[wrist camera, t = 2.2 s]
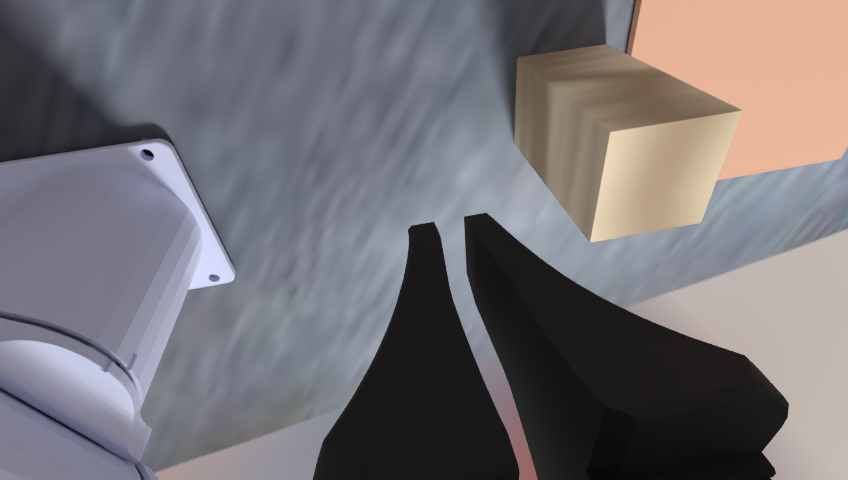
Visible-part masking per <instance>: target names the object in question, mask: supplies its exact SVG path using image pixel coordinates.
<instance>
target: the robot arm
mask: <svg viewBox="0 0 848 480" xmlns="http://www.w3.org/2000/svg"><path fill="white" fill-rule="evenodd" d="M143 149H147V150H149V151H151V152H152V153H153V154H154V157H150V156H148V155H146V154H145V153H144V152H143ZM464 223H465V244H466V265H467V275H468V279H469V282H470V286H471V289H472V293H473V296H474V300H475V303H476V306H477V308H478V311H479V313H480V315H481V318H482V320H483V322H484V325H485V327H486V330H487V332H488V334H489V337H490V339H491V341H492V344H493V346H494V348H495V351H496V353H497V355H498V358H499V360H500V362H501V364H502V367H503V369H504V372H505V374H506V377H507V379H508V382H509V385H510V388H511V391H512V394H513V398H514V401H515V404H516V407H517V410H518V413H519V417H520V420H521V423H522V427H523V430H524V433H525V436H526V440H527V443H528V447H529V450H530V453H531V456H532V460H533V464H534V467H535V470H536V474H537V478H538V480H771V479H770V477H773V476H774V475H775V474H776V472H775V469H774V467H773V466H772V465H771V463H770V462H769V461H768V460H767V458H766V457H765V456H764V455H763V453H762V451H763V449H764V448H765V447H766V446H767V444H768V443H769V442H770V441H771V440H772V438H773V437H774V436H775V435H776V433H777V432H778V431H779V430H780V428H781V427H782V426H783V424H784V422H785V420H786V419H787V416H788V407H789V403H788V402H787V401H786V399H785V398H784V396H783V395H782V394H781V393H780V392H779V391H778V390H777V389H776V388H775V387H774V385H773V384H772V383H771V382H770V381H769V380H768V379H767V378H766V377H765V376H764V374H763V373H762V372H761V371H760V370H759V369H758V368H757V367H756V366H755V365H754V364H753V363H752V362H751V361H750V360H749V359H748V358H747V357H746V356H745V355H742V354H739V353H736V352H733V351H730V350H727V349H724V348H721V347H718V346H715V345H712V344H709V343H706V342H703V341H700V340H697V339H694V338H691V337H688V336H686V335H683V334H681V333H678V332H676V331H673V330H671V329H668V328H666V327H663V326H661V325H658V324H656V323H653V322H651V321H649V320H647V319H644V318H642V317H640V316H637V315H635V314H633V313H631V312H629V311H627V310H625V309H623V308H621V307H619V306H617V305H615V304H613V303H611V302H609V301H607V300H605V299H603V298H601V297H599V296H598V295H596V294H594V293H592V292H591V291H589V290H587V289H585V288H584V287H582V286H580V285H579V284H577V283H575V282H574V281H572V280H570V279H569V278H567V277H566V276H564V275H563V274H561V273H560V272H558V271H557V270H556V269H554V268H553V267H551V266H550V265H548V264H547V263H546V262H544V261H543V260H542V259H540V258H539V257H538V256H537V255H535V254H534V253H533V252H532V251H530V250H529V249H528V248H527V247H525V246H524V245H523V244H522V243H520V242H519V241H518V240H517V239H516V238H514V237H513V236H512V235H511V234H510V233H509V232H508V231H506V230H505V229H504V228H503V227H502V226H501V225H500V224H499V223H497V222H496V221H495V220H494V219H493V218H492V217H491V216H490V215H488V214H487V213H483V214H477V215H471V216H466V217H464ZM408 233H409V250H408V258H407V264H406V269H405V274H404V279H403V283H402V286H401V290H400V293H399V297H398V300H397V304H396V307H395V310H394V312H393V315H392V318H391V321H390V323H389V326H388V328H387V331H386V333H385V336H384V338H383V340H382V342H381V344H380V347H379V349H378V351H377V353H376V355H375V357H374V359H373V361H372V363H371V365H370V367H369V369H368V371H367V372H366V374H365V376H364V378H363V380H362V381H361V383H360V385H359V387H358V388H357V390H356V392H355V394H354V395H353V397H352V399H351V400H350V402H349V403H348V405H347V407H346V408H345V410H344V411H343V413H342V414H341V415H340V417H339V419H338V420H337V421H336V423H335V425H334V426H333V428H332V429H331V430H330V432H329V433H328V435H327V436H326V438H325V439H324V441H323V444H322V447H321V451H320V454H319V457H318V461H317V464H316V469H315V473H314V477H313V480H519V467H518V463H517V460H516V457H515V454H514V451H513V448H512V445H511V442H510V439H509V436H508V433H507V431H506V429H505V427H504V424H503V422H502V420H501V418H500V416H499V414H498V412H497V410H496V408H495V405H494V403H493V401H492V398H491V396H490V394H489V392H488V389H487V388H486V385H485V383H484V380H483V378H482V375H481V373H480V371H479V368H478V366H477V363H476V361H475V358H474V356H473V353H472V351H471V348H470V346H469V343H468V340H467V338H466V335H465V332H464V330H463V327H462V324H461V322H460V319H459V316H458V313H457V310H456V308H455V305H454V302H453V299H452V295H451V291H450V287H449V282H448V276H447V271H446V265H445V260H444V254H443V248H442V243H441V238H440V235H439V232H438V230H437V228H436V225H435V223H434V222H431V223H425V224H419V225H414V226H411V227H410V228H409V229H408ZM212 274H215V275H218V276H219V277H214V276H212ZM235 274H236V272H235V269H234V267H233V265H232V263H231V261H230V259H229V257H228V255H227V253H226V251H225V249H224V247H223V245H222V243H221V241H220V239H219V237H218V235H217V233H216V231H215V229H214V227H213V225H212V223H211V221H210V219H209V217H208V215H207V213H206V211H205V209H204V207H203V205H202V203H201V201H200V199H199V197H198V195H197V193H196V191H195V189H194V187H193V185H192V183H191V181H190V179H189V177H188V175H187V173H186V171H185V169H184V167H183V165H182V163H181V161H180V159H179V157H178V155H177V153H176V151H175V149H174V147H173V146H172V144H171V143H169V142H168V141H167V140H164V139H150V140H144V141H137V142H131V143H124V144H117V145H111V146H104V147H98V148H91V149H85V150H78V151H72V152H65V153H59V154H52V155H46V156H39V157H33V158H26V159H20V160H13V161H7V162H0V480H158V478H157V476H156V475H155V474H154V472H153V471H152V470H151V469H150V468H149V467H148V466H146V465H145V464H143V463H141V462H140V461H141V458H142V455H143V452H144V450H145V447H146V444H147V441H148V439H149V436H150V433H151V430H152V429H151V428H150V427H149V426H148V425H147V424H145V423H144V421H143V420H142V418H141V416H140V408H141V406H142V404H143V401H144V399H145V396H146V394H147V391H148V389H149V386H150V384H151V381H152V379H153V376H154V374H155V371H156V369H157V367H158V364H159V362H160V359H161V357H162V354H163V352H164V349H165V347H166V344H167V342H168V339H169V337H170V334H171V332H172V329H173V327H174V324H175V322H176V319H177V317H178V314H179V312H180V309H181V307H182V304H183V302H184V299H185V297H186V294H187V292H188V290H190V289H195V288H201V287H207V286H212V285H218V284H224V283H229V282H231V281H232V280H234V277H235Z"/></svg>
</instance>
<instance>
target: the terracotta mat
mask: <svg viewBox="0 0 848 480" xmlns="http://www.w3.org/2000/svg"><path fill="white" fill-rule="evenodd" d="M626 54H628V55H630V56H632V57H634V58H636V59H638V60H640V61H642V62H644V63H646V64H649V65H651V66H653V67H655V68H657V69H659V70H661V71H663V72H665V73H667V74H669V75H671V76H673V77H675V78H677V79H679V80H681V81H683V82H685V83H688V84H690V85H692V86H694V87H696V88H698V89H700V90H702V91H704V92H706V93H708V94H710V95H712V96H714V97H716V98H718V99H720V100H722V101H724V102H727V103H729V104H731V105H733V106H735V107H737V108H739V109H741V110H743V111H742V114H741V117H740V119H739V122H738V125H737V127H736V130H735V133H734V135H733V138H732V141H731V144H730V146H729V149H728V152H727V154H726V157H725V160H724V162H723V165H722V168H721V170H720V173H719V176H718V178H717V180H722V179H727V178H733V177H739V176H745V175H750V174H756V173H762V172H768V171H773V170H779V169H785V168H791V167H796V166H802V165H808V164H814V163H819V162H825V161H831V160H837V159H841V157H842V156H843V154H844V152H845V150H846V148H847V147H848V0H636V4H635V10H634V15H633V20H632V26H631V31H630V37H629V42H628V48H627V53H626Z"/></svg>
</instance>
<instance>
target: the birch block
mask: <svg viewBox="0 0 848 480" xmlns="http://www.w3.org/2000/svg"><path fill="white" fill-rule="evenodd" d="M742 111H743V110H741V109H739V108H737V107H735V106H733V105H731V104H729V103H727V102H724V101H722V100H720V99H718V98H716V97H714V96H712V95H710V94H708V93H706V92H704V91H702V90H700V89H698V88H696V87H694V86H692V85H690V84H688V83H685V82H683V81H681V80H679V79H677V78H675V77H673V76H671V75H669V74H667V73H665V72H663V71H661V70H659V69H657V68H655V67H653V66H651V65H649V64H646V63H644V62H642V61H640V60H638V59H636V58H634V57H632V56H630V55H628V54H626V53H624V52H622V51H620V50H618V49H616V48H614V47H612V46H609V45H607V44H603V45H596V46H589V47H583V48H576V49H569V50H563V51H556V52H549V53H543V54H536V55H529V56H523V57H517V77H516V105H515V133H514V144H515V145H516V146H517V148H518V149H519V150H520V152H521V153H522V154H523V156H524V157H525V158H526V159H527V161H528V162H529V163H530V165H531V166H532V167H533V169H534V170H535V171H536V173H537V174H538V175H539V176H540V178H541V179H542V180H543V182H544V183H545V184H546V186H547V187H548V188H549V190H550V191H551V192H552V193H553V195H554V196H555V197H556V199H557V200H558V201H559V203H560V204H561V205H562V207H563V208H564V209H565V210H566V212H567V213H568V214H569V216H570V217H571V218H572V220H573V221H574V222H575V224H576V225H577V226H578V227H579V229H580V230H581V231H582V233H583V234H584V235H585V237H586V238H587V239H588V241H589V242H596V241H602V240H607V239H613V238H618V237H624V236H629V235H635V234H640V233H646V232H651V231H657V230H662V229H668V228H674V227H679V226H685V225H690V224H696V223H701V221H702V218H703V216H704V213H705V210H706V208H707V205H708V202H709V200H710V197H711V194H712V192H713V189H714V186H715V184H716V181H717V178H718V176H719V173H720V170H721V168H722V165H723V162H724V160H725V157H726V154H727V152H728V149H729V146H730V144H731V141H732V138H733V135H734V133H735V130H736V127H737V125H738V122H739V119H740V117H741V114H742Z"/></svg>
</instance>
